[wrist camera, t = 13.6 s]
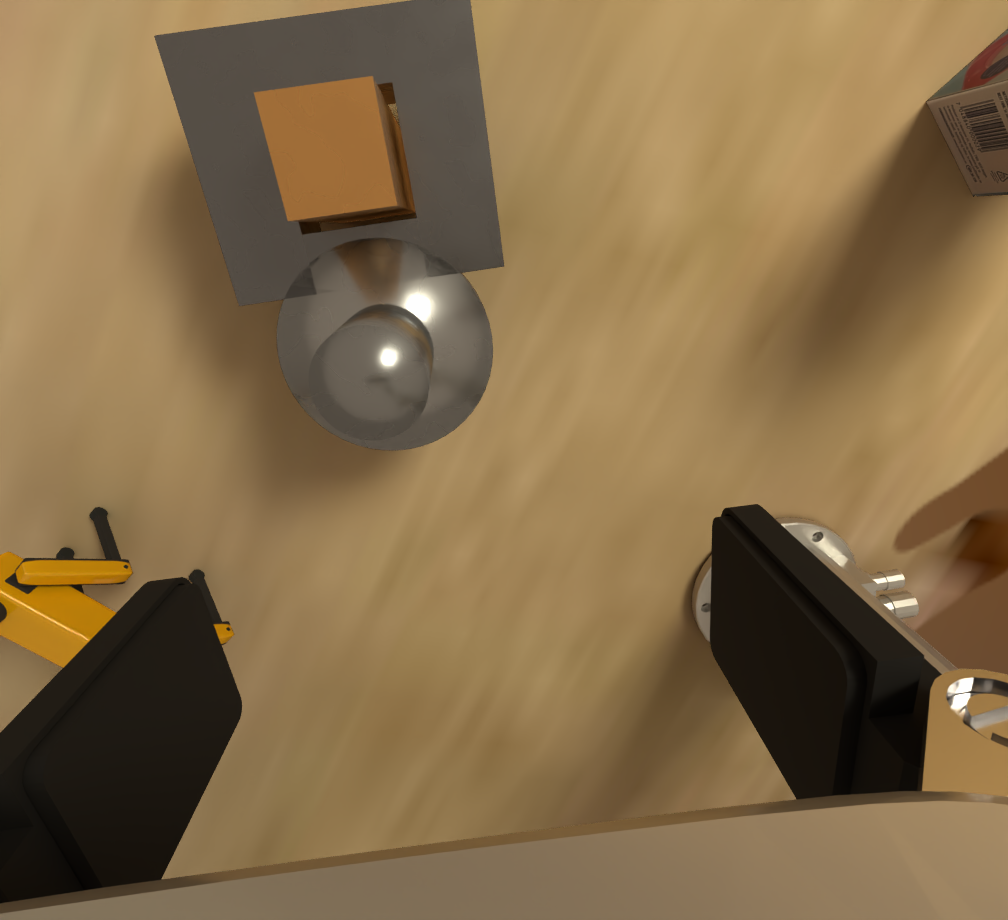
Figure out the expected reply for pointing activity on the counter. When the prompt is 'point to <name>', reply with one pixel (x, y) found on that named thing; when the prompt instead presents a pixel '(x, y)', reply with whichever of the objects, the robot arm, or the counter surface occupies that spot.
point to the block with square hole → (364, 249)
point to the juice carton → (978, 119)
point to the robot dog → (69, 597)
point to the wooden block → (336, 151)
